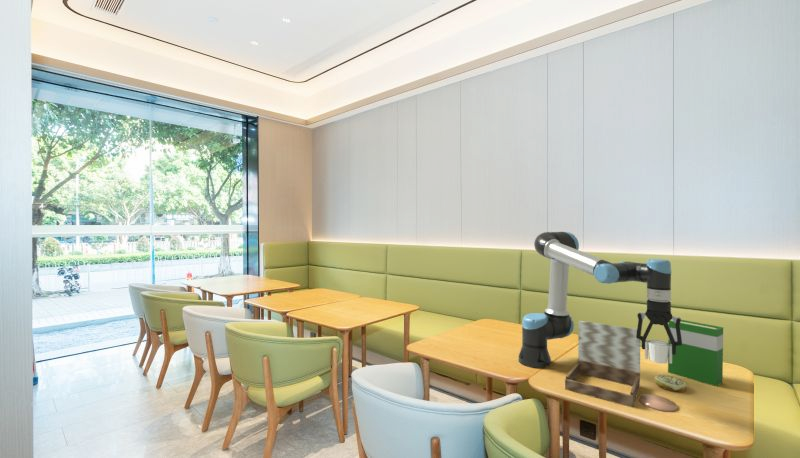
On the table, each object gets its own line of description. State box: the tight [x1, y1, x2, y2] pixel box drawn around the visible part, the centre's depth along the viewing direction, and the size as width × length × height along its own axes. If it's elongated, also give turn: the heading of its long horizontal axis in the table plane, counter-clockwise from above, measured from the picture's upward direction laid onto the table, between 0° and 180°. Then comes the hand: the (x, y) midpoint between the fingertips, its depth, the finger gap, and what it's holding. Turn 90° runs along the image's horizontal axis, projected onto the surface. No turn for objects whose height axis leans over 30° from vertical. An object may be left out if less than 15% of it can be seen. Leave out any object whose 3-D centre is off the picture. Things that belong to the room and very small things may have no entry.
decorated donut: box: [654, 374, 687, 393], centre depth 155 cm, size 10×11×4 cm
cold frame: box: [564, 320, 641, 408], centre depth 154 cm, size 24×23×24 cm
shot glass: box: [647, 339, 670, 364], centre depth 141 cm, size 7×7×7 cm
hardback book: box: [667, 319, 724, 387], centre depth 165 cm, size 18×7×24 cm, turn 33°
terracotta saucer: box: [638, 393, 678, 412], centre depth 141 cm, size 12×12×1 cm
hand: (658, 360), depth 141 cm, fingers closed on shot glass, 7 cm apart
